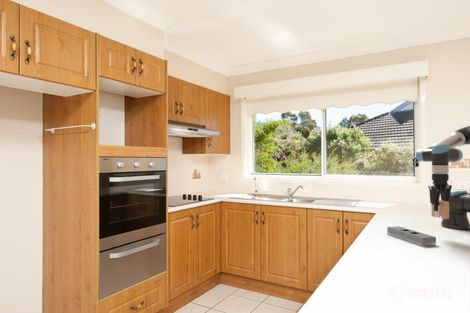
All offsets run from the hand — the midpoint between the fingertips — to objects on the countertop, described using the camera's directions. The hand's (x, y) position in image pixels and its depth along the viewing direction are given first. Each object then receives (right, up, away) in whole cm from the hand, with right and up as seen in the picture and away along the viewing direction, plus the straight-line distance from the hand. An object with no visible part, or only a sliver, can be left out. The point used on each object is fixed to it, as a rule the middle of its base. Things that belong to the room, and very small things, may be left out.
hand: (440, 216), depth 165 cm
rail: (-18, -11, -2) cm, 21 cm away
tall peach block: (0, 0, 0) cm, 0 cm away
